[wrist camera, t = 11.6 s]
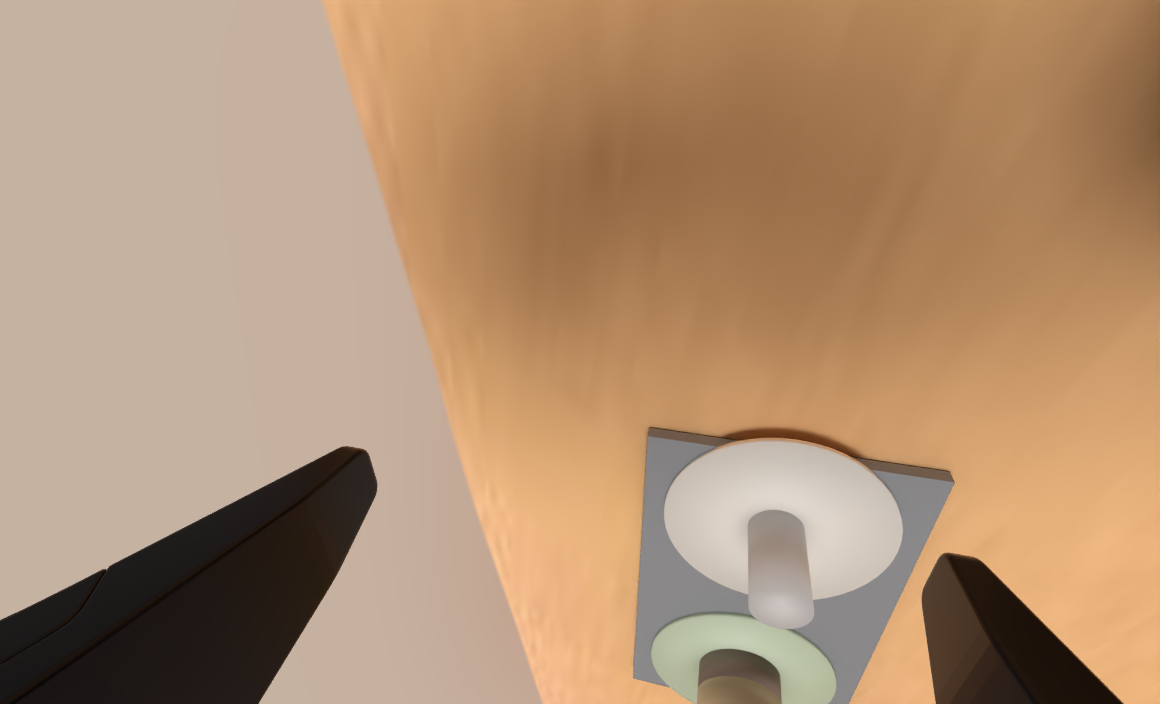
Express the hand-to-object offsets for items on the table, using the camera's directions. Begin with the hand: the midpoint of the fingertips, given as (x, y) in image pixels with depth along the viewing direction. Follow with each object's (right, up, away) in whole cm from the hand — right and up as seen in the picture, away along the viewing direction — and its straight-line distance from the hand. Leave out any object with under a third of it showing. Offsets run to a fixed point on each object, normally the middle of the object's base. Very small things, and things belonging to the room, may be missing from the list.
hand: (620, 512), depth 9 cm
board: (+9, -10, +20) cm, 24 cm away
